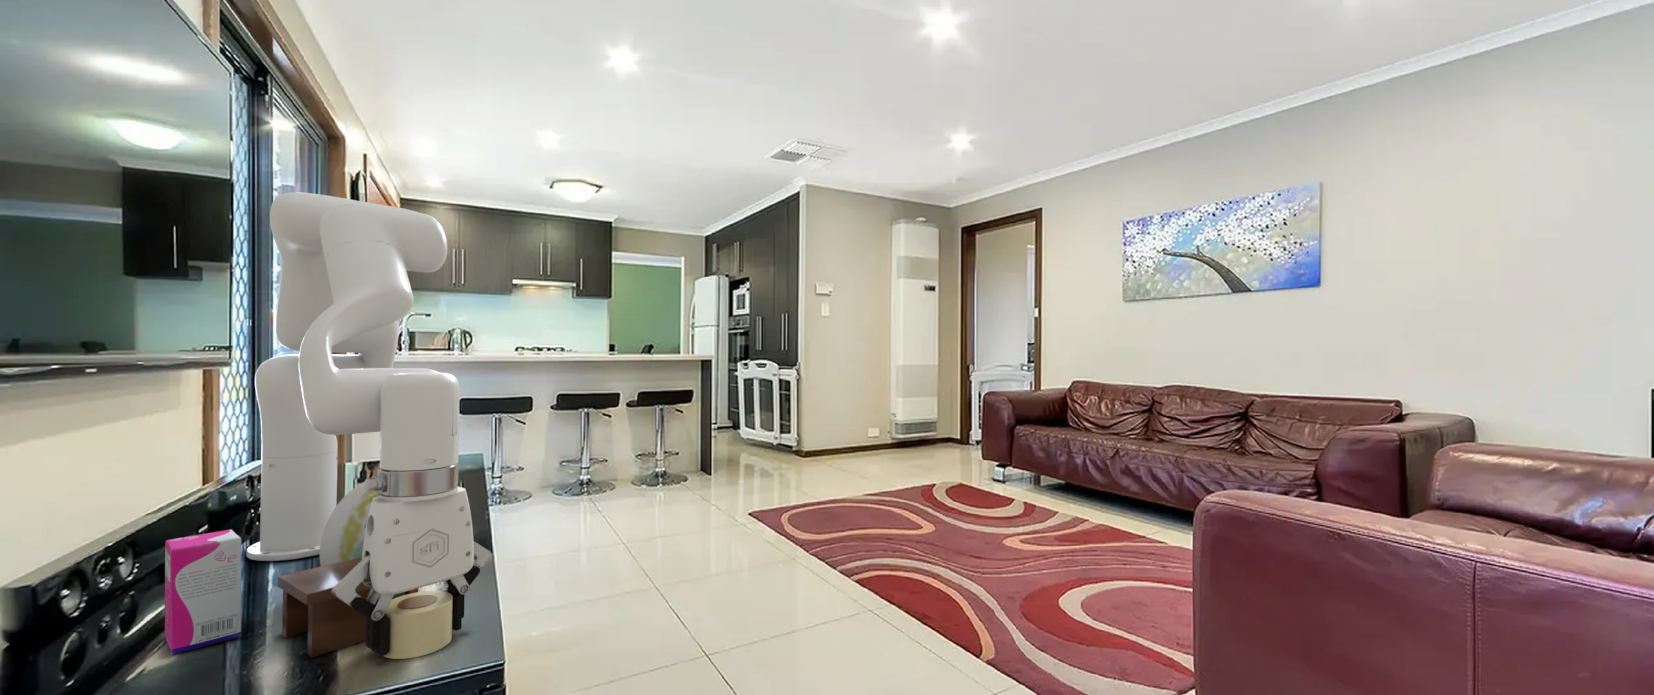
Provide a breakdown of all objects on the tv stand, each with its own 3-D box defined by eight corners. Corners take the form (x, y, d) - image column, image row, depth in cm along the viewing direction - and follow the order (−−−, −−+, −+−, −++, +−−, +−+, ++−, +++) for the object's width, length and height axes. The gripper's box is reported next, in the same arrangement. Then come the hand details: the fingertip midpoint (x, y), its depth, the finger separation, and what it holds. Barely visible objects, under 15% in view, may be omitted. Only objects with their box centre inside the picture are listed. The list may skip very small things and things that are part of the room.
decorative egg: (361, 610, 80) (363, 492, 80) (296, 596, 84) (298, 483, 84) (447, 577, 92) (449, 474, 92) (386, 566, 96) (388, 467, 96)
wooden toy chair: (276, 637, 73) (278, 498, 73) (385, 605, 82) (387, 482, 82) (305, 660, 68) (308, 510, 68) (417, 623, 77) (420, 492, 77)
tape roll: (397, 665, 67) (397, 619, 67) (369, 647, 71) (370, 604, 71) (463, 641, 73) (464, 598, 73) (434, 626, 77) (435, 585, 77)
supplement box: (232, 622, 76) (234, 527, 76) (241, 637, 73) (243, 537, 73) (163, 639, 72) (164, 538, 72) (169, 656, 68) (170, 549, 68)
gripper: (341, 501, 63) (338, 682, 63) (512, 473, 77) (509, 621, 77) (312, 490, 67) (310, 660, 67) (479, 466, 81) (477, 606, 81)
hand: (417, 637), depth 72 cm, fingers closed on tape roll, 6 cm apart
